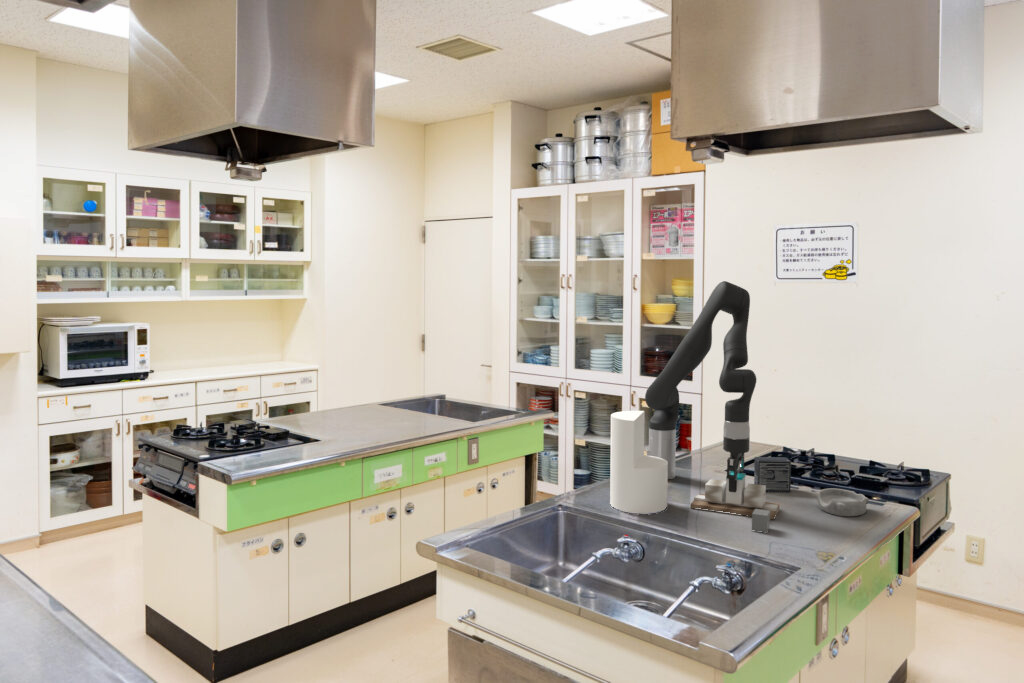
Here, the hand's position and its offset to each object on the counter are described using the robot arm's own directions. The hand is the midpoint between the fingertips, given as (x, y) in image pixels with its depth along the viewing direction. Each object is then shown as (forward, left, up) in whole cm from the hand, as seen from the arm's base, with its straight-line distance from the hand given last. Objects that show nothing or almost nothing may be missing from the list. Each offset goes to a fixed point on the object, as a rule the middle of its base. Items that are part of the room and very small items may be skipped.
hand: (735, 488), depth 227 cm
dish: (+29, +13, -7) cm, 32 cm away
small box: (+7, +26, -7) cm, 28 cm away
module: (0, 0, -4) cm, 4 cm away
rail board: (0, 0, -6) cm, 6 cm away
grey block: (+10, -16, -6) cm, 20 cm away
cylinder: (-27, -10, -6) cm, 30 cm away
